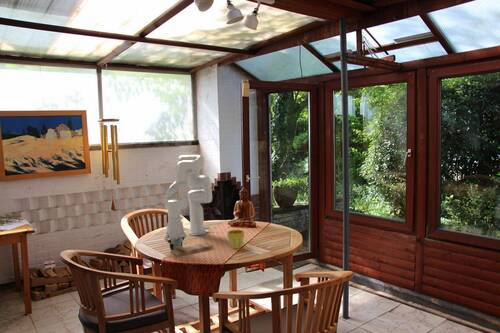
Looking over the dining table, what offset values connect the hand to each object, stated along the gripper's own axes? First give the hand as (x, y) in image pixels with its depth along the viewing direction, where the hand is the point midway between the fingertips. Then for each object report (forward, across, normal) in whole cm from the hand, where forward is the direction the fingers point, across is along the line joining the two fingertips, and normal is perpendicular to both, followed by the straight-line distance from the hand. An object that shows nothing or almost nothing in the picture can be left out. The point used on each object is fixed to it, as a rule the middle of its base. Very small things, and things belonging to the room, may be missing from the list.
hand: (176, 248), depth 251 cm
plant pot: (+2, -32, +19) cm, 37 cm away
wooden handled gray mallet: (+1, 0, +5) cm, 5 cm away
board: (+1, -7, +7) cm, 10 cm away
